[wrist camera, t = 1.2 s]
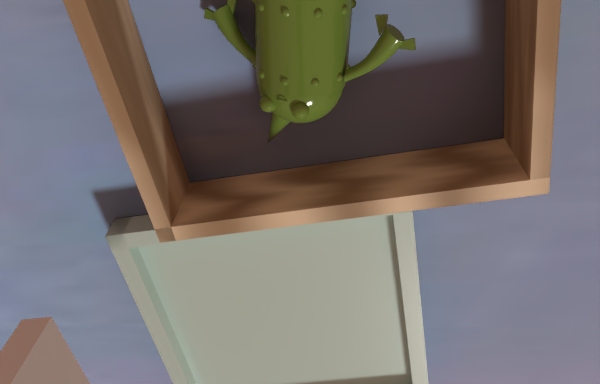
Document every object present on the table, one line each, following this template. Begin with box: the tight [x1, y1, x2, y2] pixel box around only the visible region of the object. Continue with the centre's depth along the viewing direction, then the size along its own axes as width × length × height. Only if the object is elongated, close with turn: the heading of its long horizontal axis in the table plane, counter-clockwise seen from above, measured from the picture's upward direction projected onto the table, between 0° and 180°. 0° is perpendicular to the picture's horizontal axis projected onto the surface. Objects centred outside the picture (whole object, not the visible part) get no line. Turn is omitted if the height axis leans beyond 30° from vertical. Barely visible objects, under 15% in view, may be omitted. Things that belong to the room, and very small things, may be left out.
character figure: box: [204, 0, 416, 143], centre depth 28 cm, size 12×5×12 cm
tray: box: [105, 211, 428, 384], centre depth 40 cm, size 20×20×2 cm
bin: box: [63, 0, 561, 243], centre depth 28 cm, size 22×18×5 cm
